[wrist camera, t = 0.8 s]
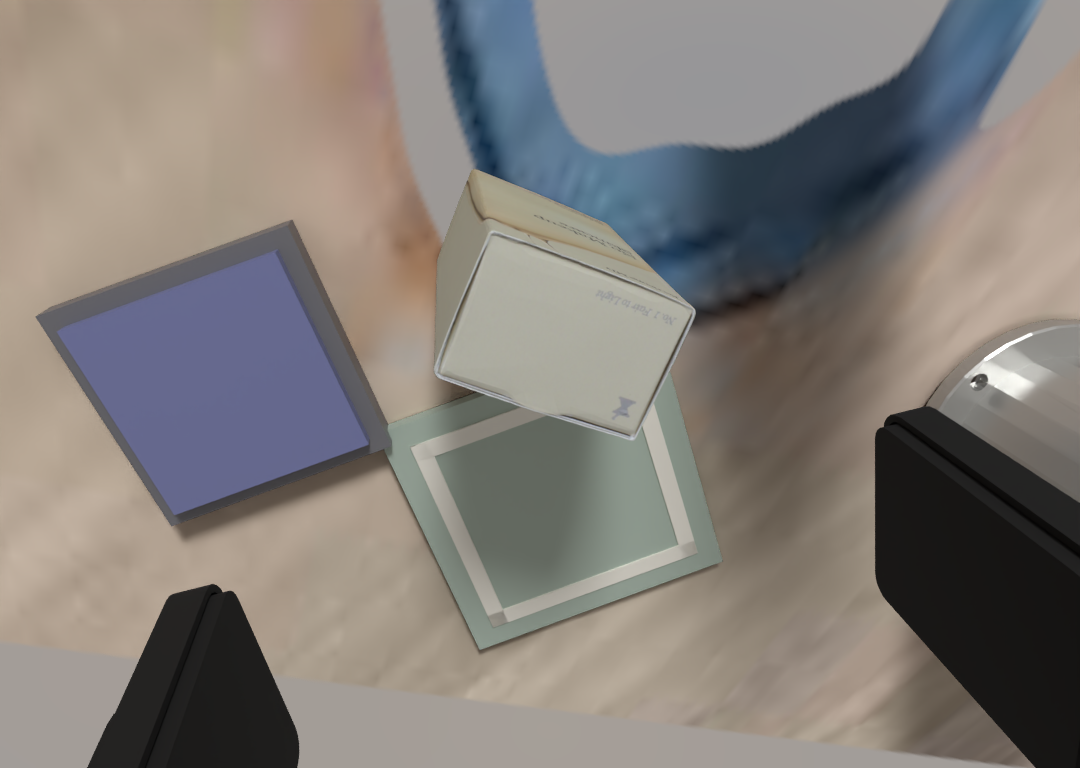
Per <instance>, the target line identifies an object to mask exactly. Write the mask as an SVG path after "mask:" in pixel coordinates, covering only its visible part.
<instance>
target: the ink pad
mask: <svg viewBox="0 0 1080 768" xmlns="http://www.w3.org/2000/svg"><path fill="white" fill-rule="evenodd" d="M36 318H37V320H38V321H39V323H40V324H41V326H42V327H43V329H44V331H45V332H46V334H47V335H48V337H49V338H50V340H51V341H52V343H53V344H54V346H55V348H56V349H57V351H58V352H59V354H60V355H61V357H62V358H63V360H64V361H65V363H66V364H67V366H68V368H69V369H70V371H71V372H72V374H73V375H74V377H75V378H76V380H77V381H78V383H79V385H80V386H81V388H82V389H83V391H84V392H85V394H86V395H87V397H88V398H89V400H90V401H91V403H92V405H93V406H94V408H95V409H96V411H97V412H98V414H99V415H100V417H101V418H102V420H103V421H104V423H105V425H106V426H107V428H108V429H109V431H110V432H111V434H112V435H113V437H114V438H115V440H116V442H117V443H118V445H119V446H120V448H121V449H122V451H123V452H124V454H125V455H126V457H127V458H128V460H129V462H130V463H131V465H132V466H133V468H134V469H135V471H136V472H137V474H138V475H139V477H140V479H141V480H142V482H143V483H144V485H145V486H146V488H147V489H148V491H149V492H150V494H151V495H152V497H153V499H154V500H155V502H156V503H157V505H158V506H159V508H160V509H161V511H162V512H163V514H164V516H165V517H166V519H167V520H168V522H169V523H170V525H171V526H174V525H176V524H179V523H182V522H185V521H187V520H190V519H193V518H196V517H198V516H201V515H204V514H207V513H209V512H212V511H215V510H218V509H220V508H223V507H226V506H229V505H231V504H234V503H237V502H240V501H242V500H245V499H248V498H251V497H253V496H256V495H259V494H262V493H264V492H267V491H270V490H273V489H275V488H278V487H281V486H284V485H286V484H289V483H292V482H295V481H297V480H300V479H303V478H306V477H308V476H311V475H314V474H317V473H319V472H322V471H325V470H328V469H330V468H333V467H336V466H339V465H341V464H344V463H347V462H350V461H352V460H355V459H358V458H361V457H363V456H366V455H369V454H372V453H374V452H377V451H380V450H383V449H385V448H388V447H391V446H392V439H391V437H390V435H389V432H388V423H387V421H386V419H385V417H384V415H383V412H382V410H381V408H380V406H379V404H378V402H377V400H376V397H375V395H374V393H373V391H372V389H371V387H370V385H369V382H368V380H367V378H366V376H365V374H364V372H363V370H362V368H361V365H360V363H359V361H358V359H357V357H356V355H355V353H354V350H353V348H352V346H351V344H350V342H349V340H348V338H347V335H346V333H345V331H344V329H343V327H342V325H341V323H340V321H339V318H338V316H337V314H336V312H335V310H334V308H333V306H332V303H331V301H330V299H329V297H328V295H327V293H326V291H325V288H324V286H323V284H322V282H321V280H320V278H319V276H318V273H317V271H316V269H315V267H314V265H313V263H312V261H311V259H310V256H309V254H308V252H307V250H306V248H305V246H304V244H303V241H302V239H301V237H300V235H299V233H298V231H297V229H296V226H295V224H294V222H293V220H290V221H287V222H285V223H282V224H279V225H276V226H273V227H271V228H268V229H265V230H262V231H260V232H257V233H254V234H251V235H249V236H246V237H243V238H240V239H238V240H235V241H232V242H229V243H227V244H224V245H221V246H218V247H215V248H213V249H210V250H207V251H204V252H202V253H199V254H196V255H193V256H191V257H188V258H185V259H182V260H180V261H177V262H174V263H171V264H169V265H166V266H163V267H160V268H157V269H155V270H152V271H149V272H146V273H144V274H141V275H138V276H135V277H133V278H130V279H127V280H124V281H122V282H119V283H116V284H113V285H110V286H108V287H105V288H102V289H99V290H97V291H94V292H91V293H88V294H86V295H83V296H80V297H77V298H75V299H72V300H69V301H66V302H64V303H61V304H58V305H55V306H52V307H50V308H48V309H47V310H45V311H44V312H42V313H40V314H39V315H37V316H36Z"/></svg>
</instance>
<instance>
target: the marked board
mask: <svg viewBox="0 0 1080 768" xmlns="http://www.w3.org/2000/svg"><path fill="white" fill-rule="evenodd" d="M388 432H389V435H390V437H391V439H392V446H391V447H388V448H385V449H384V451H385V453H386V455H387V457H388V459H389V461H390V463H391V465H392V467H393V470H394V472H395V474H396V476H397V478H398V480H399V482H400V484H401V486H402V488H403V490H404V493H405V495H406V497H407V499H408V501H409V503H410V505H411V507H412V509H413V511H414V513H415V516H416V518H417V520H418V522H419V524H420V526H421V528H422V530H423V532H424V534H425V536H426V539H427V541H428V543H429V545H430V547H431V549H432V551H433V553H434V555H435V557H436V559H437V562H438V564H439V566H440V568H441V570H442V572H443V574H444V576H445V578H446V580H447V582H448V585H449V587H450V589H451V591H452V593H453V595H454V597H455V599H456V601H457V603H458V605H459V608H460V610H461V612H462V614H463V616H464V618H465V620H466V622H467V624H468V626H469V628H470V631H471V633H472V635H473V637H474V639H475V641H476V643H477V645H478V647H479V649H480V650H481V649H484V648H487V647H489V646H492V645H495V644H498V643H500V642H503V641H506V640H509V639H511V638H514V637H517V636H520V635H522V634H525V633H528V632H531V631H533V630H536V629H539V628H541V627H544V626H547V625H550V624H552V623H555V622H558V621H561V620H563V619H566V618H569V617H572V616H574V615H577V614H580V613H583V612H585V611H588V610H591V609H594V608H596V607H599V606H602V605H605V604H607V603H610V602H613V601H615V600H618V599H621V598H624V597H626V596H629V595H632V594H635V593H637V592H640V591H643V590H646V589H648V588H651V587H654V586H657V585H659V584H662V583H665V582H668V581H670V580H673V579H676V578H679V577H681V576H684V575H687V574H689V573H692V572H695V571H698V570H700V569H703V568H706V567H709V566H711V565H714V564H717V563H720V562H722V561H723V560H722V557H721V553H720V549H719V546H718V542H717V539H716V535H715V531H714V528H713V524H712V521H711V517H710V513H709V510H708V506H707V503H706V499H705V495H704V492H703V488H702V485H701V481H700V478H699V474H698V470H697V467H696V463H695V460H694V456H693V452H692V449H691V445H690V442H689V438H688V434H687V431H686V427H685V424H684V420H683V416H682V413H681V409H680V406H679V402H678V398H677V395H676V391H675V388H674V384H673V380H672V377H671V373H670V371H669V373H668V375H667V377H666V380H665V382H664V384H663V386H662V388H661V390H660V392H659V394H658V396H657V398H656V400H655V402H654V404H653V405H652V407H651V410H650V412H649V414H648V416H647V418H646V420H645V422H644V423H643V425H642V427H641V429H640V431H639V433H638V435H637V437H636V439H635V440H634V441H629V440H626V439H623V438H620V437H617V436H614V435H610V434H606V433H603V432H600V431H596V430H593V429H590V428H587V427H584V426H580V425H577V424H574V423H570V422H567V421H564V420H561V419H558V418H554V417H551V416H548V415H544V414H541V413H538V412H534V411H531V410H528V409H525V408H522V407H520V406H517V405H514V404H511V403H508V402H505V401H502V400H499V399H496V398H493V397H491V396H488V395H485V394H482V393H478V392H476V393H473V394H471V395H468V396H465V397H462V398H460V399H457V400H454V401H451V402H449V403H446V404H443V405H440V406H438V407H435V408H432V409H429V410H427V411H424V412H421V413H418V414H416V415H413V416H410V417H407V418H405V419H402V420H399V421H396V422H394V423H391V424H388Z"/></svg>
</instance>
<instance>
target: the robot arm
mask: <svg viewBox="0 0 1080 768" xmlns="http://www.w3.org/2000/svg"><path fill="white" fill-rule="evenodd" d="M875 574H876V580H877V584H878V587H879V589H880V591H881V593H882V595H883V597H884V598H885V599H886V601H887V602H888V603H889V604H890V605H891V606H892V607H893V608H894V610H895V611H896V612H897V613H898V614H899V615H900V616H901V617H902V619H903V620H904V621H905V622H906V623H907V624H908V625H909V626H910V627H911V629H912V630H913V631H914V632H915V633H916V634H917V635H918V636H919V638H920V639H921V640H922V641H923V642H924V643H925V644H926V645H927V647H928V648H929V649H930V650H931V651H932V652H933V653H934V654H935V655H936V657H937V658H938V659H939V660H940V661H941V662H942V663H943V664H944V666H945V667H946V668H947V669H948V670H949V671H950V672H951V673H952V675H953V676H954V677H955V678H956V679H957V680H958V681H959V682H960V683H961V685H962V686H963V687H964V688H965V689H966V690H967V691H968V692H969V694H970V695H971V696H972V697H973V698H974V699H975V700H976V701H977V703H978V704H979V705H980V706H981V707H982V708H983V709H984V710H985V711H986V713H987V714H988V715H989V716H990V717H991V718H992V719H993V720H994V722H995V723H996V724H997V725H998V726H999V727H1000V728H1001V729H1002V731H1003V732H1004V733H1005V734H1006V735H1007V736H1008V737H1009V738H1010V739H1011V741H1012V742H1013V743H1014V744H1015V745H1016V746H1017V747H1018V748H1019V750H1020V751H1021V752H1022V753H1023V754H1024V755H1025V756H1026V757H1027V759H1028V760H1029V761H1030V762H1031V763H1032V764H1033V765H1034V766H1035V767H1036V768H1080V320H1075V319H1052V320H1046V321H1041V322H1035V323H1030V324H1027V325H1025V326H1022V327H1019V328H1016V329H1014V330H1011V331H1008V332H1006V333H1004V334H1002V335H1000V336H999V337H997V338H995V339H993V340H991V341H990V342H988V343H986V344H984V345H983V346H981V347H980V348H979V349H978V350H976V351H975V352H974V353H972V354H971V355H970V356H968V357H967V358H966V359H964V360H963V361H962V362H961V363H960V364H959V365H958V366H957V367H956V368H955V369H954V370H953V371H952V372H951V373H950V374H949V375H948V376H947V377H946V378H945V379H944V381H943V382H942V383H941V385H940V386H939V387H938V389H937V390H936V391H935V393H934V394H933V396H932V397H931V398H930V400H929V401H928V403H927V405H926V407H921V408H917V409H913V410H909V411H905V412H901V413H897V414H893V415H890V416H889V417H887V418H886V421H885V423H884V427H882V428H879V429H878V430H877V432H876V436H875ZM298 759H299V740H298V735H297V731H296V728H295V725H294V723H293V721H292V719H291V716H290V714H289V712H288V710H287V707H286V705H285V703H284V701H283V698H282V696H281V694H280V692H279V689H278V688H277V685H276V683H275V680H274V678H273V676H272V674H271V671H270V669H269V667H268V665H267V663H266V660H265V658H264V656H263V654H262V651H261V649H260V647H259V645H258V642H257V640H256V638H255V636H254V633H253V631H252V629H251V627H250V624H249V622H248V620H247V618H246V615H245V613H244V611H243V609H242V606H241V604H240V602H239V600H238V598H237V596H236V594H235V593H234V592H232V591H227V592H222V590H221V589H220V588H219V587H218V586H217V585H214V584H211V585H207V586H203V587H199V588H195V589H191V590H187V591H183V592H179V593H175V594H172V595H170V596H169V597H168V599H167V600H166V602H165V604H164V607H163V609H162V611H161V613H160V615H159V618H158V620H157V622H156V624H155V626H154V629H153V631H152V633H151V635H150V637H149V640H148V642H147V644H146V646H145V648H144V651H143V653H142V655H141V657H140V659H139V662H138V664H137V666H136V669H135V671H134V673H133V675H132V677H131V679H130V682H129V684H128V686H127V688H126V690H125V693H124V695H123V697H122V700H121V701H120V704H119V706H118V708H117V710H116V713H115V714H113V716H112V718H111V719H110V721H109V722H108V724H107V726H106V728H105V730H104V732H103V735H102V737H101V739H100V741H99V743H98V745H97V748H96V750H95V752H94V754H93V756H92V759H91V761H90V763H89V765H88V767H87V768H297V766H298Z"/></svg>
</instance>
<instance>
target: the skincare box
mask: <svg viewBox="0 0 1080 768" xmlns="http://www.w3.org/2000/svg"><path fill="white" fill-rule="evenodd" d="M695 315H696V312H695V309H694V308H693V307H692V306H691V305H690V304H689V303H688V302H686V301H685V300H684V299H683V298H682V297H681V296H680V295H679V294H678V293H677V292H676V291H675V290H673V289H672V287H671V286H670V285H669V284H668V283H667V282H666V281H664V280H663V279H662V278H661V277H660V276H659V275H658V274H657V273H656V272H655V271H654V270H653V269H652V268H651V267H650V266H649V265H648V264H647V263H646V262H645V261H644V260H643V259H642V258H641V257H640V256H639V255H638V254H637V253H636V252H635V251H634V250H633V249H632V248H631V247H630V246H629V245H628V244H627V243H626V242H625V241H624V240H623V239H622V238H621V237H620V236H619V235H618V234H617V233H616V232H615V231H613V229H612V228H611V227H610V226H609V225H608V224H606V223H604V222H602V221H599V220H597V219H595V218H592V217H590V216H588V215H585V214H583V213H581V212H579V211H576V210H574V209H572V208H570V207H567V206H565V205H563V204H560V203H558V202H555V201H553V200H551V199H548V198H546V197H544V196H541V195H539V194H536V193H534V192H531V191H529V190H526V189H524V188H521V187H519V186H516V185H514V184H511V183H509V182H506V181H504V180H501V179H499V178H496V177H494V176H491V175H489V174H487V173H484V172H482V171H479V170H476V169H473V170H472V171H471V173H470V176H469V178H468V181H467V183H466V185H465V188H464V190H463V193H462V195H461V198H460V200H459V203H458V205H457V208H456V211H455V214H454V216H453V219H452V221H451V224H450V227H449V229H448V232H447V234H446V237H445V240H444V243H443V245H442V248H441V251H440V254H439V257H438V260H437V284H436V317H435V353H434V373H435V375H436V376H437V378H439V379H442V380H444V381H447V382H450V383H453V384H456V385H459V386H461V387H464V388H467V389H470V390H473V391H475V392H478V393H482V394H485V395H488V396H491V397H493V398H496V399H499V400H502V401H505V402H508V403H511V404H514V405H517V406H520V407H522V408H525V409H528V410H531V411H534V412H538V413H541V414H544V415H548V416H551V417H554V418H558V419H561V420H564V421H567V422H570V423H574V424H577V425H580V426H584V427H587V428H590V429H593V430H596V431H600V432H603V433H606V434H610V435H614V436H617V437H620V438H623V439H626V440H629V441H634V440H635V439H636V437H637V435H638V433H639V431H640V429H641V427H642V425H643V423H644V422H645V420H646V418H647V416H648V414H649V412H650V410H651V407H652V405H653V404H654V402H655V400H656V398H657V396H658V394H659V392H660V390H661V388H662V386H663V384H664V382H665V380H666V377H667V375H668V373H669V371H670V369H671V367H672V365H673V364H674V362H675V359H676V357H677V355H678V353H679V351H680V349H681V347H682V344H683V342H684V340H685V338H686V335H687V333H688V331H689V329H690V326H691V324H692V322H693V320H694V318H695Z"/></svg>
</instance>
